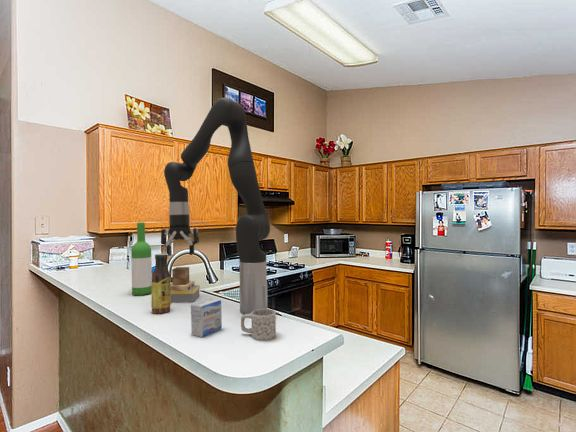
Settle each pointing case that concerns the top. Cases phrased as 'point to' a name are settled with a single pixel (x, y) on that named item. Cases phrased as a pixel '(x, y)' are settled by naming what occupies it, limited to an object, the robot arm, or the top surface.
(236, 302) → the top surface
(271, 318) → the mug
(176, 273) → the crate
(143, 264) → the wine bottle
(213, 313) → the medicine box
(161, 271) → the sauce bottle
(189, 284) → the pallet
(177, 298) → the yellow and gray block
